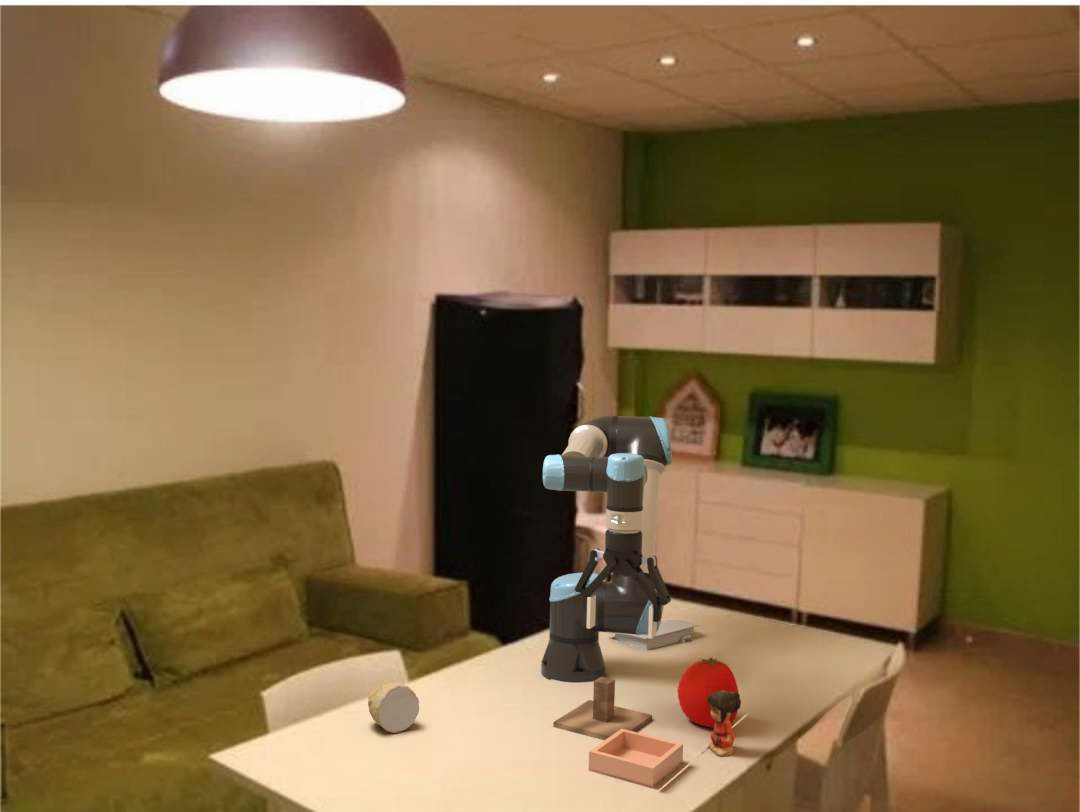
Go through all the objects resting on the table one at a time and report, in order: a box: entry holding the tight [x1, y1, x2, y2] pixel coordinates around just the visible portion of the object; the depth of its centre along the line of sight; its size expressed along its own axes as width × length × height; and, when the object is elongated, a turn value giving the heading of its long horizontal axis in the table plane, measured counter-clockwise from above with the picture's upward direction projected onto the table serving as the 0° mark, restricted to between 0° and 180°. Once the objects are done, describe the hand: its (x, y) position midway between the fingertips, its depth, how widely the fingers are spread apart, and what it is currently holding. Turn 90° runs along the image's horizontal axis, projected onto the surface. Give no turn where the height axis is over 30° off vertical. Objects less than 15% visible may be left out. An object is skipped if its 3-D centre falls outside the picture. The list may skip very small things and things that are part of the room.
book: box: [607, 619, 700, 651], centre depth 274 cm, size 15×23×4 cm, turn 130°
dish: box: [588, 729, 684, 789], centre depth 194 cm, size 13×13×4 cm
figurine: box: [707, 690, 742, 757], centre depth 203 cm, size 6×6×12 cm
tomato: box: [677, 657, 739, 729], centre depth 215 cm, size 13×11×14 cm
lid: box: [553, 676, 653, 741], centre depth 214 cm, size 15×15×9 cm
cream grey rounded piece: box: [367, 681, 420, 734], centre depth 211 cm, size 10×10×10 cm
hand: (621, 632), depth 214 cm, fingers open, 13 cm apart
